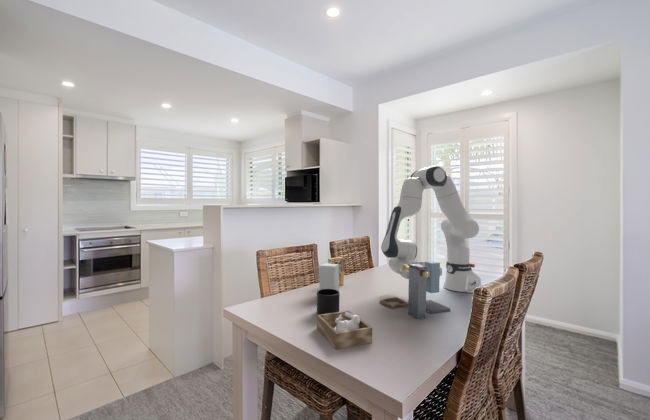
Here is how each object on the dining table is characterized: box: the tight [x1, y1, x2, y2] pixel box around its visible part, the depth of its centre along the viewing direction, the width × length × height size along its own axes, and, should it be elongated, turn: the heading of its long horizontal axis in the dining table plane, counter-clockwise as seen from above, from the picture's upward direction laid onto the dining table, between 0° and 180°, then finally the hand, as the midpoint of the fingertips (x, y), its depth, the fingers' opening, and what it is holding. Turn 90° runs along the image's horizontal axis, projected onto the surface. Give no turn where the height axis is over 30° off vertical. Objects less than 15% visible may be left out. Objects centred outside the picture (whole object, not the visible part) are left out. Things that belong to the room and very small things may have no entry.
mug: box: [316, 289, 341, 315], centre depth 128 cm, size 9×12×9 cm
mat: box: [426, 299, 451, 315], centre depth 135 cm, size 10×12×1 cm
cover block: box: [424, 260, 441, 294], centre depth 135 cm, size 4×4×13 cm
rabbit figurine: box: [333, 312, 361, 332], centre depth 105 cm, size 12×8×10 cm, turn 87°
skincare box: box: [318, 262, 340, 292], centre depth 151 cm, size 8×7×16 cm
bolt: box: [402, 264, 430, 277], centre depth 125 cm, size 2×15×2 cm, turn 23°
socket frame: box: [379, 296, 408, 310], centre depth 139 cm, size 10×10×1 cm
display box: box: [316, 310, 373, 350], centre depth 106 cm, size 13×17×5 cm
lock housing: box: [407, 264, 427, 320], centre depth 124 cm, size 4×6×21 cm, turn 23°
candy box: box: [327, 256, 345, 286], centre depth 170 cm, size 9×4×15 cm, turn 129°
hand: (433, 276), depth 134 cm, fingers closed on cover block, 4 cm apart
